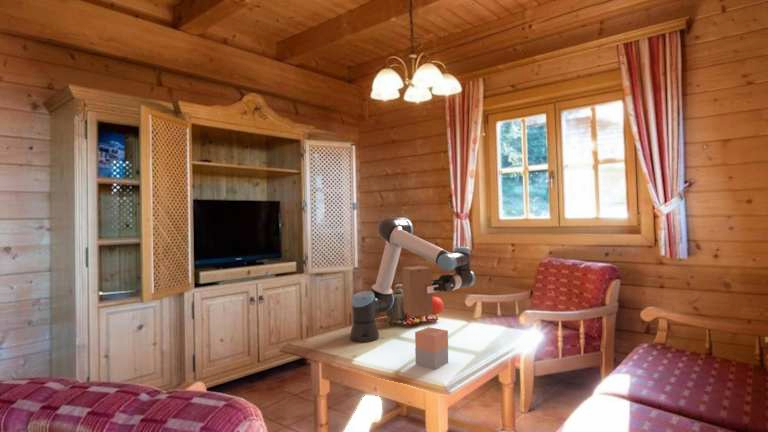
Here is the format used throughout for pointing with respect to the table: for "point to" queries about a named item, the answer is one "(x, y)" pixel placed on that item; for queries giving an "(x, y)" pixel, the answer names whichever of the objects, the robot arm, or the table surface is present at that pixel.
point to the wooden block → (417, 290)
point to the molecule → (437, 310)
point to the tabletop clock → (397, 306)
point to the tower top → (431, 339)
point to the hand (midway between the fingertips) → (416, 288)
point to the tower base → (431, 358)
